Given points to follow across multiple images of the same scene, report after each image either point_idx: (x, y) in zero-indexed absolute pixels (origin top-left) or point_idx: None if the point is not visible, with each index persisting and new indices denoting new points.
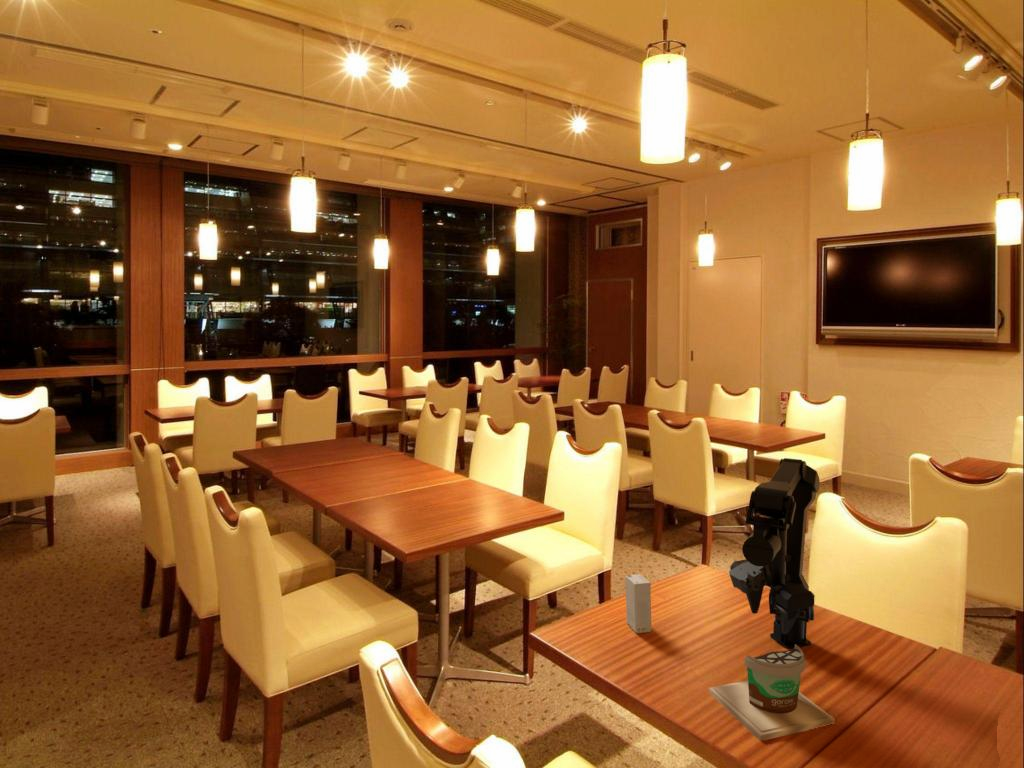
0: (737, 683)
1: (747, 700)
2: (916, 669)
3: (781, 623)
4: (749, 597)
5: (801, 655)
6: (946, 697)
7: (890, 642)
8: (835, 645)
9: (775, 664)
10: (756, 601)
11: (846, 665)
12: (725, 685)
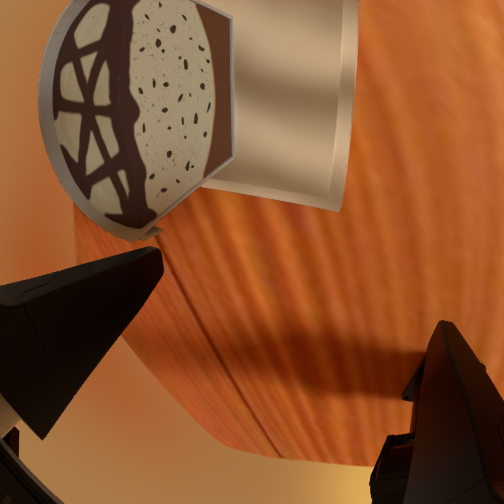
0: (348, 54)
1: (246, 18)
2: (251, 416)
3: (107, 268)
4: (475, 412)
5: (90, 202)
6: (182, 376)
7: (323, 452)
8: (369, 414)
9: (45, 57)
10: (433, 412)
11: (308, 375)
12: (351, 11)
